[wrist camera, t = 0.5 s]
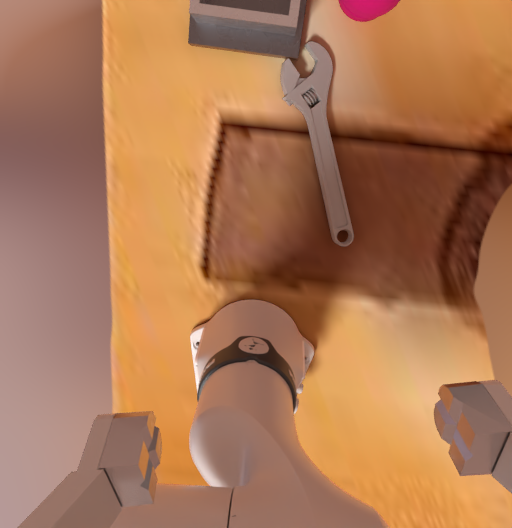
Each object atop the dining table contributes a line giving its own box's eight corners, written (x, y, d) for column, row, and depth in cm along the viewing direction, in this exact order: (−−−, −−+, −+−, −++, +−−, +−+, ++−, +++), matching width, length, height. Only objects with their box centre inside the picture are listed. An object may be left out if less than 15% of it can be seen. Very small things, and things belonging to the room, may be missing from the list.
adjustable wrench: (351, 241, 55) (357, 244, 54) (307, 252, 55) (311, 255, 53) (324, 44, 49) (329, 39, 47) (273, 53, 48) (277, 49, 46)
